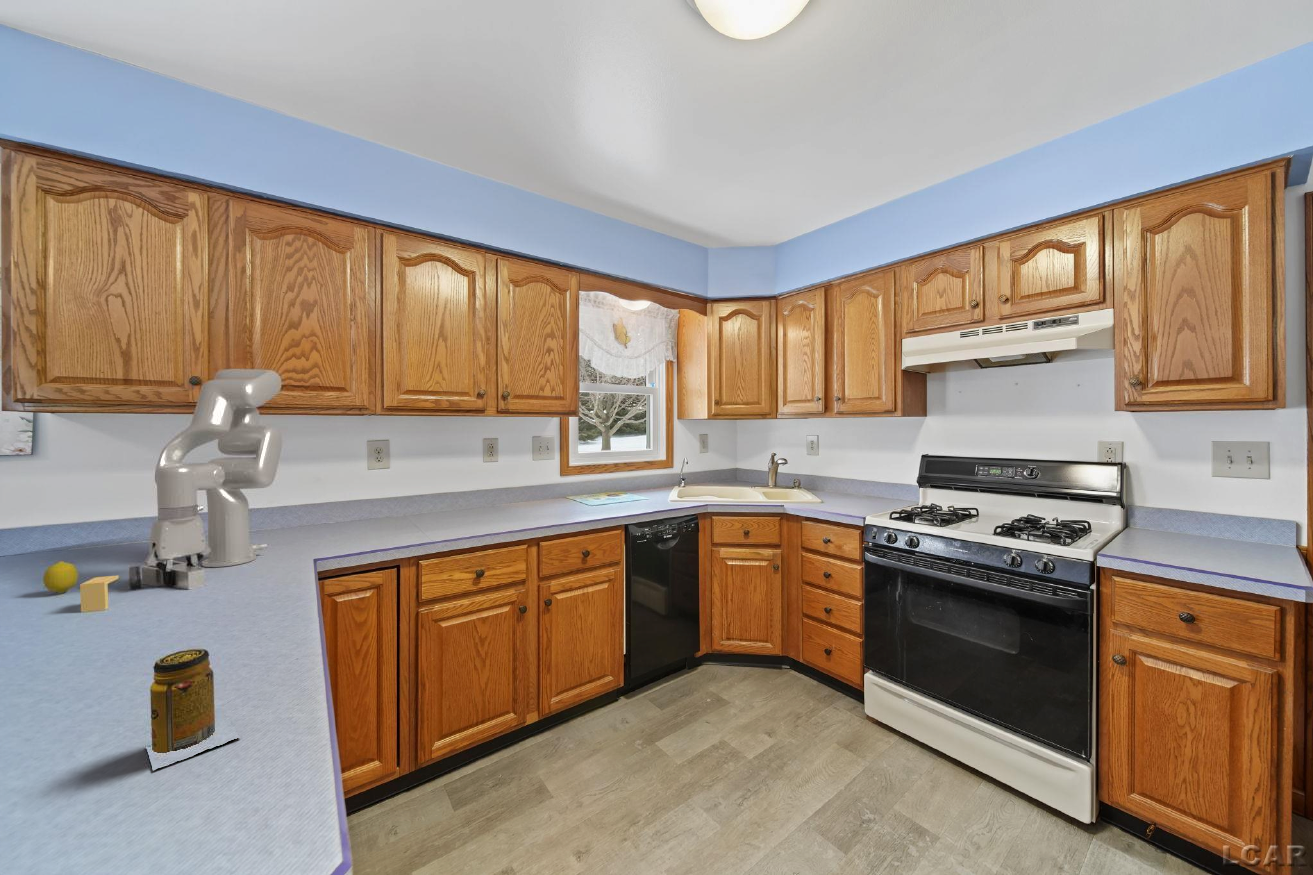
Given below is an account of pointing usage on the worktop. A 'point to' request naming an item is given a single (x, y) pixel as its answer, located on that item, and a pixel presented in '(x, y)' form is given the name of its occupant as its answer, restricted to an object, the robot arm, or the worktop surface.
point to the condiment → (182, 701)
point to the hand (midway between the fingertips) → (179, 582)
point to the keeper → (95, 593)
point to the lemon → (60, 577)
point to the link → (183, 576)
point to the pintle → (135, 577)
